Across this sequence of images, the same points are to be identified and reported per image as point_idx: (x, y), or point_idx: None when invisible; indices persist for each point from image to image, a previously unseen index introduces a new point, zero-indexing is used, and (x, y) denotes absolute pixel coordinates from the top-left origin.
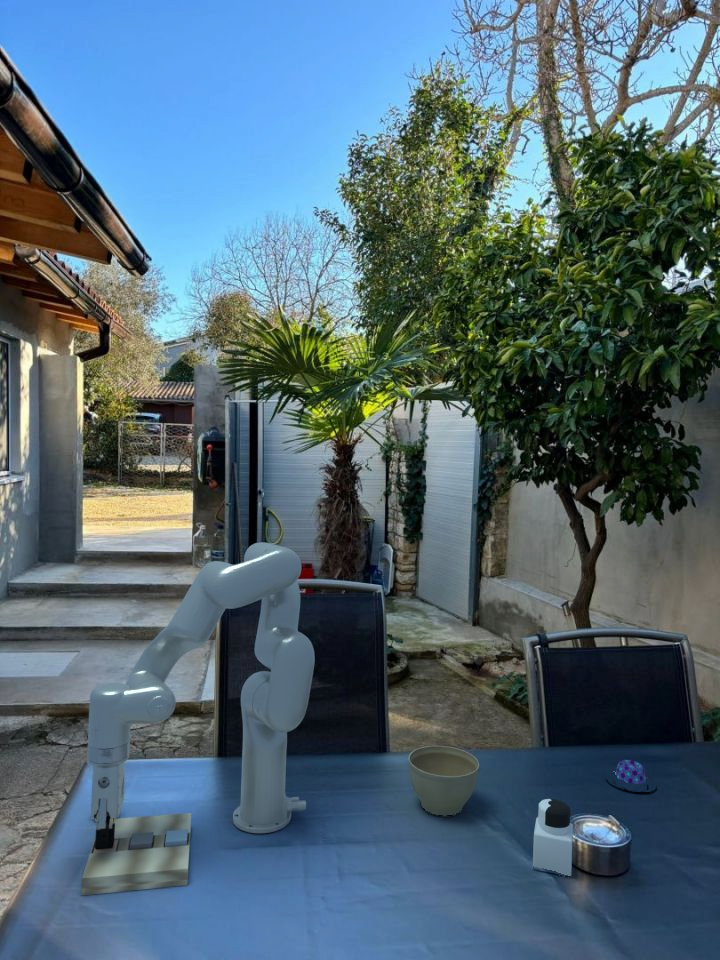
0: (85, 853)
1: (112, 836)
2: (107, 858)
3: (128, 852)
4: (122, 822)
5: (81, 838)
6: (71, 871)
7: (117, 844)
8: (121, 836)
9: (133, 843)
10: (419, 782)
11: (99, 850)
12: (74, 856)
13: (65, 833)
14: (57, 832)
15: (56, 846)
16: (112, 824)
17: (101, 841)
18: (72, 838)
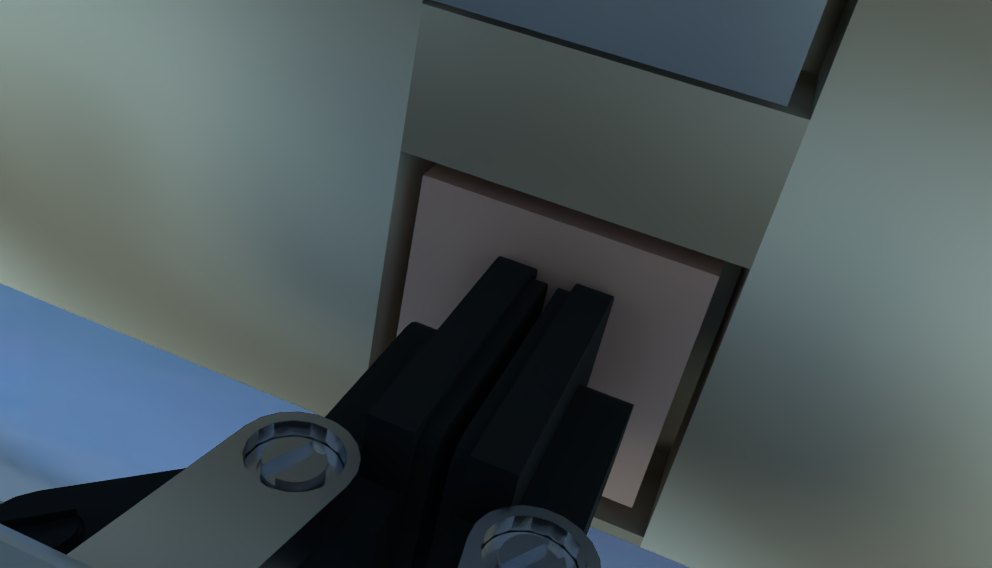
0: None
1: (565, 392)
2: (888, 426)
3: (886, 120)
4: (26, 48)
5: (129, 354)
6: (626, 548)
7: (525, 204)
8: (362, 128)
9: (763, 31)
10: None
11: None
12: None
13: (48, 433)
14: (31, 473)
15: None
16: (480, 531)
17: (594, 513)
18: (121, 411)
